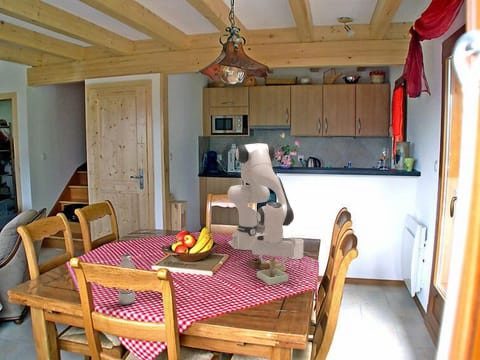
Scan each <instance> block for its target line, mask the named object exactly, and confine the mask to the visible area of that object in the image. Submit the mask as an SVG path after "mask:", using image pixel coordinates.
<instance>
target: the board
mask: <svg viewBox="0 0 480 360" xmlns="http://www.w3.org/2000/svg"><path fill="white" fill-rule="evenodd" d="M265 264H267V265H269V266H270V259H269V260H268V259H267V260H265ZM275 268H276V269H278V270H280V271H282V272H284V273H285V272H286V271H287V265H286V264H285V263H284V266H282V265H281V261H280V260H278V259H276V258H275Z"/></svg>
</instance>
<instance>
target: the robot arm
mask: <svg viewBox="0 0 480 360" xmlns="http://www.w3.org/2000/svg"><path fill="white" fill-rule="evenodd" d="M275 149H276V148H275V146H274V145H273V144H271V143H262V142H261V143H249V144H240V145H238V146H237V147H236V150H235V158H236V161H237V162H238V163H239V164H241V168H240V172H241V173H240V178H241V180H242V181H244V182H245V183H246V184H237V185H231V186H230V187H229V188H228V190H227V197H228V200H229V201H230V203H233V204H234V206H235V207H236V209H237V212H238V222H239V223H238V224H237V229H236V231H234V232H233V233H232V235H231V238H230V239H231V240H229V241H227V244H228V245H230V246H231V248H233V249H234V250H242V251H251V253H252V255H255V256H257V255H258V256H259V257H258V258H260V259H261V264H265V261H266V260H265V259H263V256H269V257H282V258H283V260H281V261H280V262H281V265H282V266H284V264H285V262H286V261H287V259H288V258H289V257H293V256H294V246H295V240H294V238H293V237H289V236H284V228H283V227H284V226H286V227H288V226H290V224H292V223H293V221H294V219H295V216H294V215H295V213H294V210H293V208H292V207H291V205H290V202H289V199H288V196H287V193H286V190H285V187H284V184H283V182H282V179H281V178H280V177H279V176H278V175H277V174H276V173H275V172H274V169H273V166H272V162H273V161H274V160H275V157H276V150H275ZM270 190H271V191H273V192H274V193H275V196H276V199H277V201H270V202H268V200H269V198H270V197H271V195H270V194H271V193H270ZM265 202H267V203H266V205H264V206H260V207H259V208H258V209H257V211H256V210H255V209H253V208H251V207H249V206H248V204H259V203H261V204H262V203H265ZM258 224H260V225H261V226H264V231H261V232H260V231H259V232H258V229H259V227H258ZM292 239H293V240H292Z"/></svg>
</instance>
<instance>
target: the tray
mask: <svg viewBox="0 0 480 360" xmlns="http://www.w3.org/2000/svg"><path fill="white" fill-rule="evenodd" d="M289 276H290V275H289V274H288V273H286V272H285V271H284V272H282V271H280V270H278V269H276V268H275V277H271V278H270V269H267V270H262V271H261V270H257V271H256V277H257V278H259V279H260V280H261V281H263V282H264V283H265V284H266V285H268V286H272V285H277V284H283V283H285V282H286V283H287V282H289Z"/></svg>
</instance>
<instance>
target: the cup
mask: <svg viewBox="0 0 480 360" xmlns="http://www.w3.org/2000/svg"><path fill="white" fill-rule="evenodd" d="M293 239H294V240H295V246H294V256H293V257H288V258H289V259H291V260H294V259H295V261H296V260H298V259H300V260H302V259H304V244H305V243H304V239H302V238H293ZM293 239H292V240H293Z"/></svg>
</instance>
